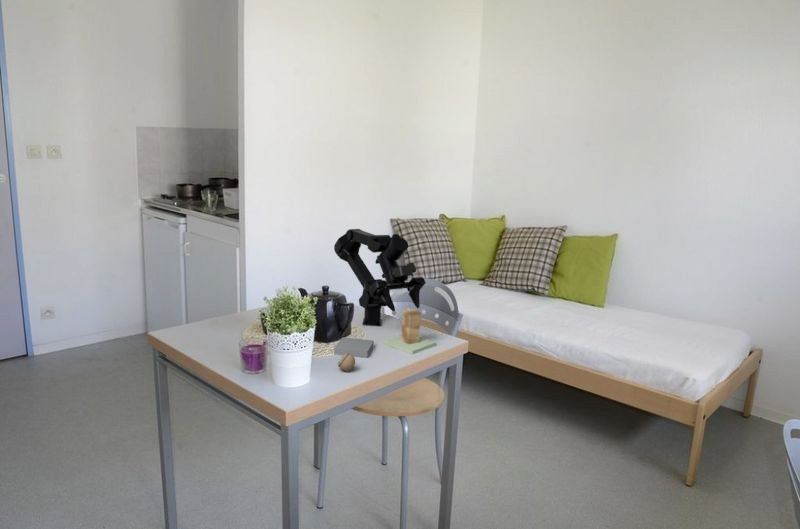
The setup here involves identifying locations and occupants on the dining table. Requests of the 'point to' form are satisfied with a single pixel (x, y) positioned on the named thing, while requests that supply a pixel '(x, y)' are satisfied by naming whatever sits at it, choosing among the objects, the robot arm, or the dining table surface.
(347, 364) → the door knob
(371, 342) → the grey block
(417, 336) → the oak block
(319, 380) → the dining table surface
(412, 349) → the sage mat
